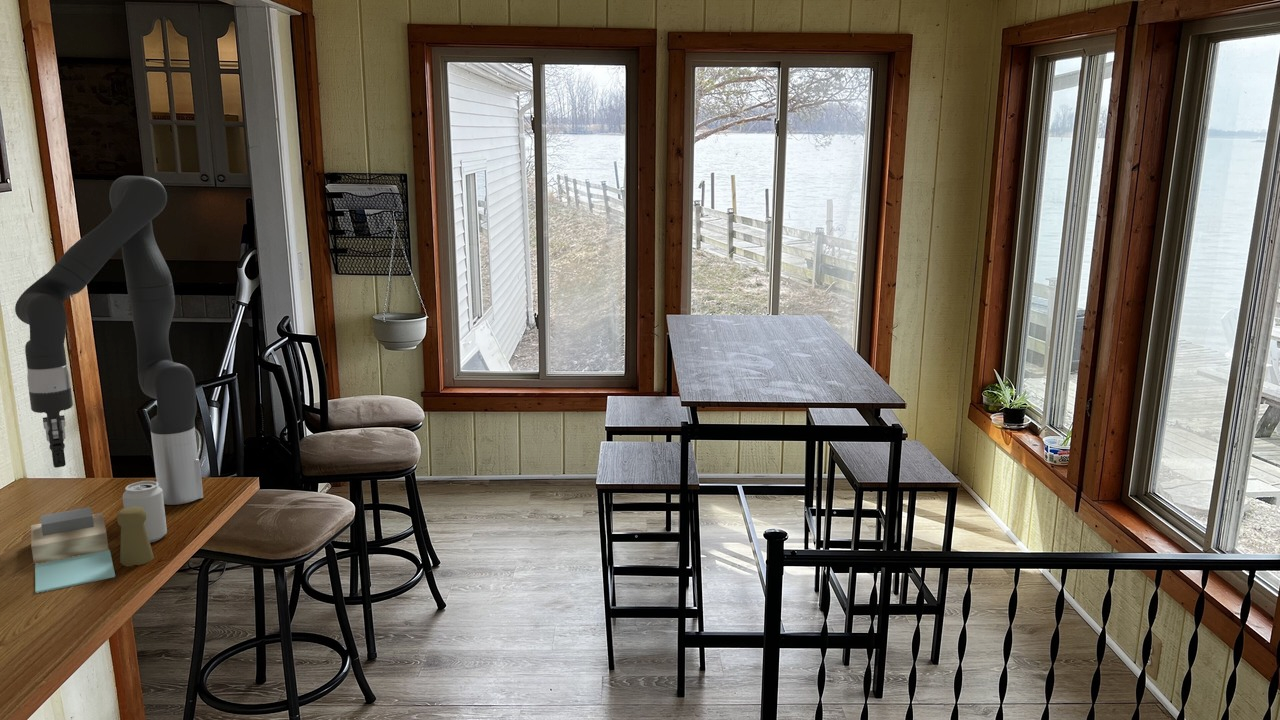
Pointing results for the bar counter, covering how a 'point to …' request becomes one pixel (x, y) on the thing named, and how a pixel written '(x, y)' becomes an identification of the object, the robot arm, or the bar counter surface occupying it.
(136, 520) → the cork
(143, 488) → the can
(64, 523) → the grey rectangular block
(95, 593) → the bar counter surface
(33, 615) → the bar counter surface
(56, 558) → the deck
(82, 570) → the mat
